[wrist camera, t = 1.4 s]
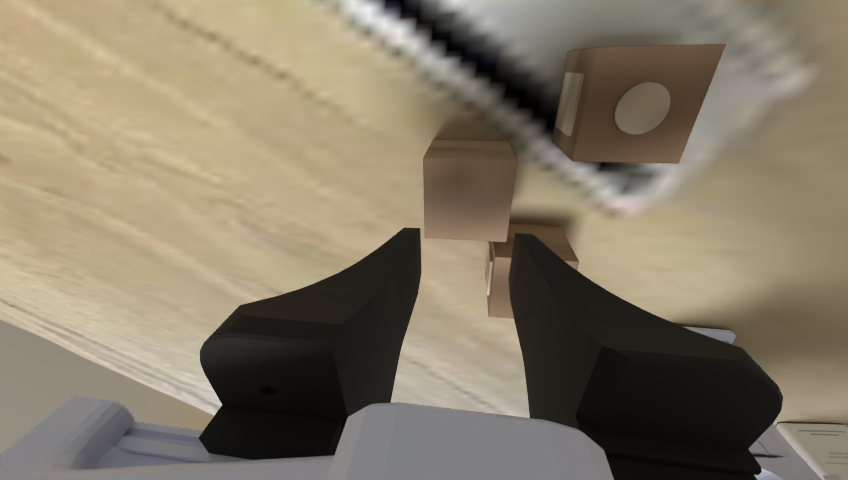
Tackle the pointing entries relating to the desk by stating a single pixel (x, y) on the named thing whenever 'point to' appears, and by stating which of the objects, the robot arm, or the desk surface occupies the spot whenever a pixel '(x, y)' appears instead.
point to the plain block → (468, 189)
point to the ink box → (819, 446)
